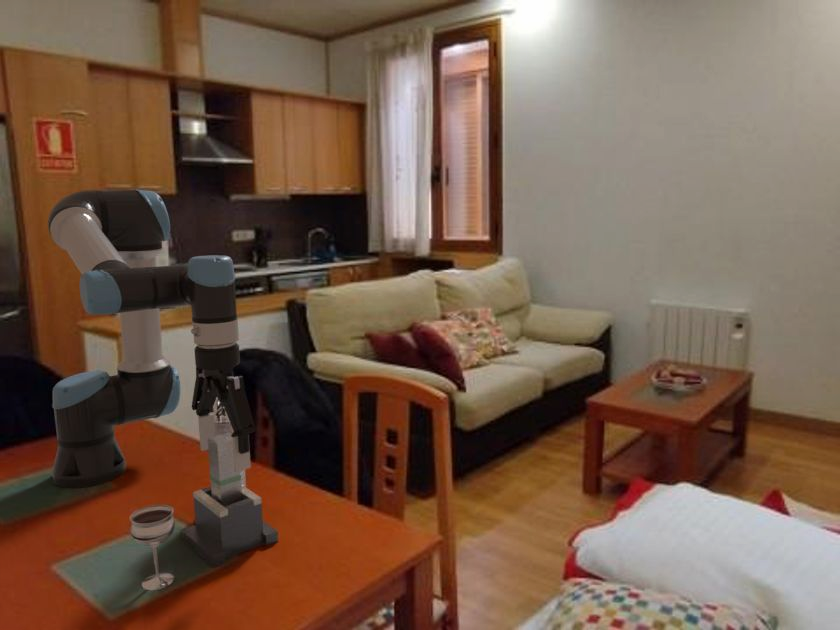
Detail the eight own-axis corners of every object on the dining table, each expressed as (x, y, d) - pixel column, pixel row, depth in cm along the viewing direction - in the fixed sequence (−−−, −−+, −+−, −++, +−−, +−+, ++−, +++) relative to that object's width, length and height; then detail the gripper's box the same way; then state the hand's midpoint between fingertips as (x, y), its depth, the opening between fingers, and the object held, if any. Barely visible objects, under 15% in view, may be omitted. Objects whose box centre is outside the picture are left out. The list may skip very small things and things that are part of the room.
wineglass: (176, 590, 105) (170, 521, 103) (131, 596, 104) (124, 526, 102) (182, 567, 112) (177, 502, 109) (140, 572, 110) (134, 506, 108)
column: (210, 536, 122) (203, 435, 118) (231, 529, 124) (224, 430, 121) (228, 551, 116) (221, 446, 113) (249, 543, 119) (242, 440, 116)
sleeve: (181, 539, 121) (178, 494, 119) (244, 516, 129) (242, 474, 128) (212, 567, 111) (208, 519, 110) (278, 541, 120) (275, 495, 118)
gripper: (167, 337, 120) (176, 446, 124) (229, 359, 102) (237, 485, 106) (206, 331, 125) (214, 436, 129) (271, 351, 107) (278, 472, 111)
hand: (224, 458), depth 117 cm, fingers open, 13 cm apart
